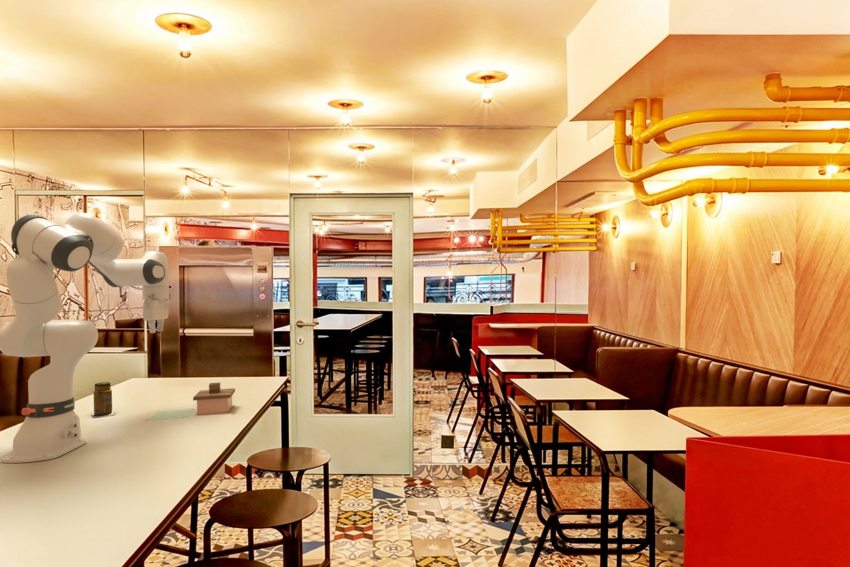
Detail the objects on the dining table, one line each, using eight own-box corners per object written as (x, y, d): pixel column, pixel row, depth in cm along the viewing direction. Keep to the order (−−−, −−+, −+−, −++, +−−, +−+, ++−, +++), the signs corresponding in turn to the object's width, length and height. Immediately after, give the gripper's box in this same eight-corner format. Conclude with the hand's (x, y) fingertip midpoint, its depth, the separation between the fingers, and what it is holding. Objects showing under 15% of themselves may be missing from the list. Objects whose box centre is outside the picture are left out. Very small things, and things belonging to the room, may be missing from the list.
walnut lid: (230, 398, 199) (229, 385, 199) (193, 400, 197) (192, 387, 197) (234, 391, 212) (234, 379, 212) (200, 393, 209) (200, 381, 209)
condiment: (112, 411, 209) (111, 380, 209) (116, 414, 202) (115, 383, 202) (90, 414, 204) (89, 383, 204) (93, 418, 198) (92, 386, 198)
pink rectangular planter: (228, 413, 200) (227, 397, 200) (197, 415, 198) (196, 399, 198) (232, 406, 211) (232, 391, 211) (203, 409, 209) (202, 393, 209)
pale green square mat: (187, 418, 194) (187, 417, 194) (146, 421, 191) (146, 420, 191) (196, 409, 208) (195, 408, 208) (157, 412, 205) (157, 411, 205)
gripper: (157, 294, 187) (157, 333, 187) (171, 295, 207) (172, 330, 207) (137, 294, 186) (138, 334, 186) (154, 295, 206) (154, 331, 206)
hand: (156, 332), depth 196 cm, fingers open, 8 cm apart
